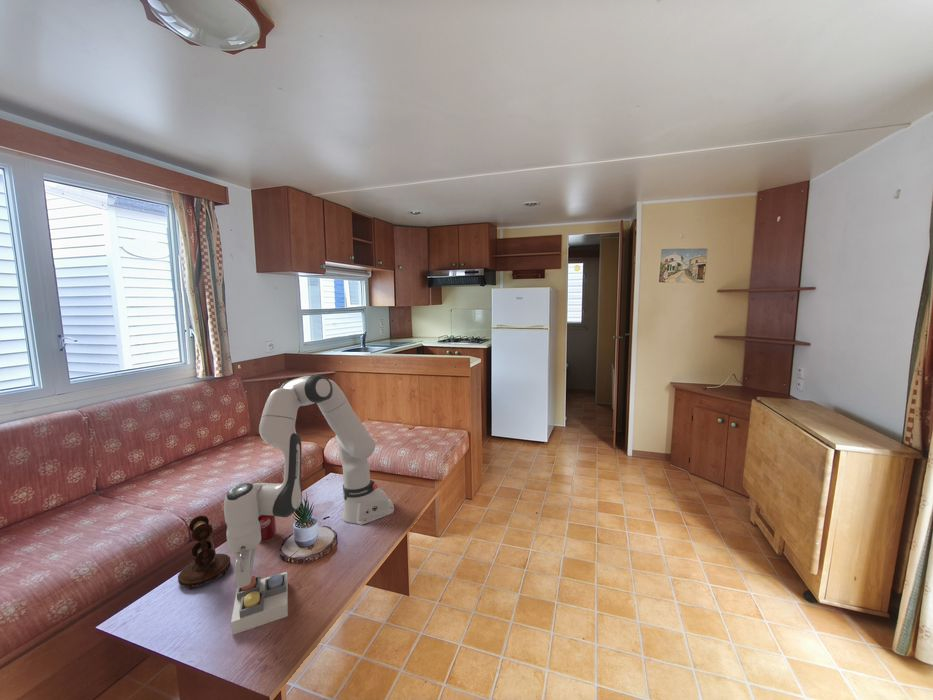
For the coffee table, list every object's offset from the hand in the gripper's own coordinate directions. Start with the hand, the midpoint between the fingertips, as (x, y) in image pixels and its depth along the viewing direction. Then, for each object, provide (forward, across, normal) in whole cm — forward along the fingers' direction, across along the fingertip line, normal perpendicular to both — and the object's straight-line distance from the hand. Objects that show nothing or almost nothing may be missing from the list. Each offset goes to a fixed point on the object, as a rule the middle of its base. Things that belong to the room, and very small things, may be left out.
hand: (248, 580), depth 114 cm
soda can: (+8, +35, -3) cm, 36 cm away
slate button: (+3, -3, -8) cm, 9 cm away
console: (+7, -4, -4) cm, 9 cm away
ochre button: (+3, -8, -2) cm, 9 cm away
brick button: (+3, 0, 0) cm, 3 cm away
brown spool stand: (+8, +21, +15) cm, 27 cm away
